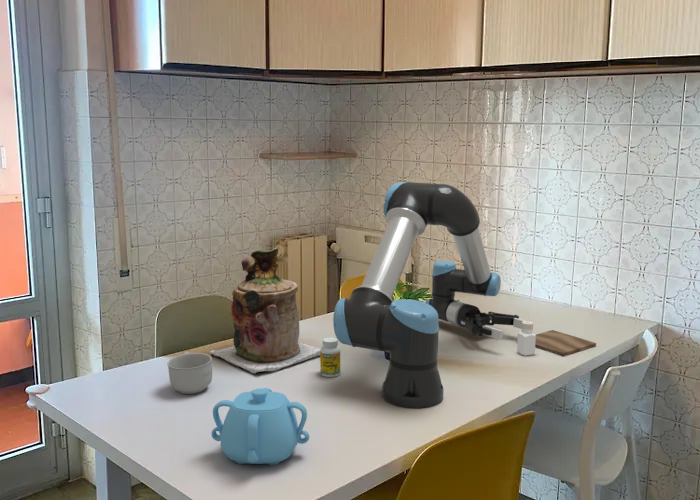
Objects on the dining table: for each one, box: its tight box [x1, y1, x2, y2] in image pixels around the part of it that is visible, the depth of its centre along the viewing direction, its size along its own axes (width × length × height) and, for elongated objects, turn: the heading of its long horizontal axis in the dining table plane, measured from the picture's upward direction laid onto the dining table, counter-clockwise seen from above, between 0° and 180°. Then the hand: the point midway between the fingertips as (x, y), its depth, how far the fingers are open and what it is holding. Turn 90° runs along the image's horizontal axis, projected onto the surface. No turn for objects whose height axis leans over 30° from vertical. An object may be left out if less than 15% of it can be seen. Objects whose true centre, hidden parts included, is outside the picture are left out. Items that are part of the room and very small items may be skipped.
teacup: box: [167, 351, 213, 395], centre depth 172 cm, size 14×11×8 cm
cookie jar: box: [209, 247, 321, 374], centre depth 194 cm, size 25×25×32 cm
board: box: [535, 329, 597, 357], centre depth 209 cm, size 16×16×1 cm
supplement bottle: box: [319, 337, 341, 378], centre depth 182 cm, size 5×5×10 cm
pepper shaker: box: [516, 320, 536, 356], centre depth 199 cm, size 4×4×10 cm
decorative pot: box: [211, 387, 310, 466], centre depth 138 cm, size 16×16×14 cm
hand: (516, 331), depth 202 cm, fingers open, 13 cm apart
